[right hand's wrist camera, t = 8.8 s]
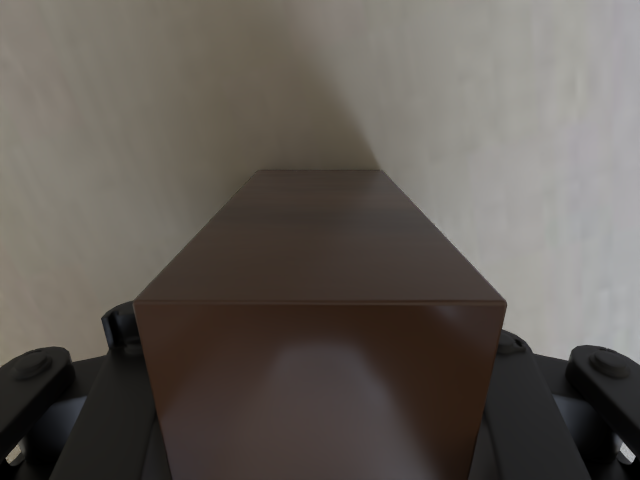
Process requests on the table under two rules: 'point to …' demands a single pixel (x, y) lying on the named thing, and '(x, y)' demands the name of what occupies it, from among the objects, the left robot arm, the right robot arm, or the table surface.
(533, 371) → the right robot arm
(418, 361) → the plank
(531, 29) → the table surface
